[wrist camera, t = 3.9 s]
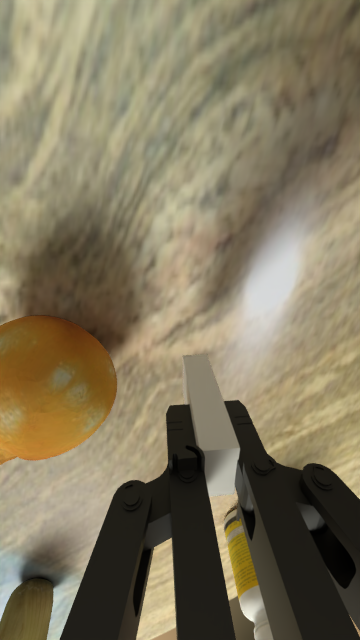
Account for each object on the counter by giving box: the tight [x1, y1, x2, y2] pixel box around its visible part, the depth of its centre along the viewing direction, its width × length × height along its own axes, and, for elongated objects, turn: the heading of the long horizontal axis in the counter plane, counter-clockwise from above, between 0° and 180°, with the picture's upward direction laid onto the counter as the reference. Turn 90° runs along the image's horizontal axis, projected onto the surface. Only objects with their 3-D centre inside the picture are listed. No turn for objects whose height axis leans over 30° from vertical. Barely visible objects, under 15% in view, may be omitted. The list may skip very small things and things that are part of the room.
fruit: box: [0, 315, 117, 465], centre depth 15 cm, size 8×8×8 cm
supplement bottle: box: [224, 509, 273, 640], centre depth 25 cm, size 5×5×10 cm
